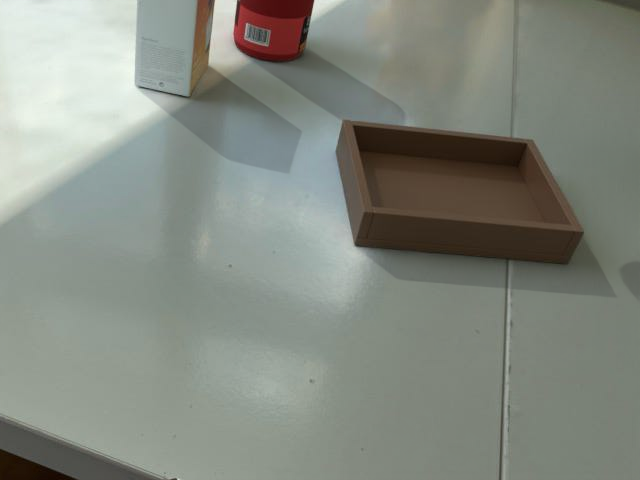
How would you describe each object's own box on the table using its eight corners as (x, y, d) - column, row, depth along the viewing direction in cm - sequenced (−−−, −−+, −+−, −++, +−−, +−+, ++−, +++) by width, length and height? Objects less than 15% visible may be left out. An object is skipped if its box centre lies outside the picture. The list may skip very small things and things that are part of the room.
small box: (189, 99, 74) (198, -11, 67) (132, 86, 75) (136, -25, 68) (209, 64, 80) (221, -40, 73) (157, 52, 81) (163, -53, 74)
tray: (519, 169, 73) (533, 139, 71) (568, 264, 63) (585, 232, 61) (335, 151, 71) (342, 119, 69) (354, 245, 61) (363, 211, 59)
